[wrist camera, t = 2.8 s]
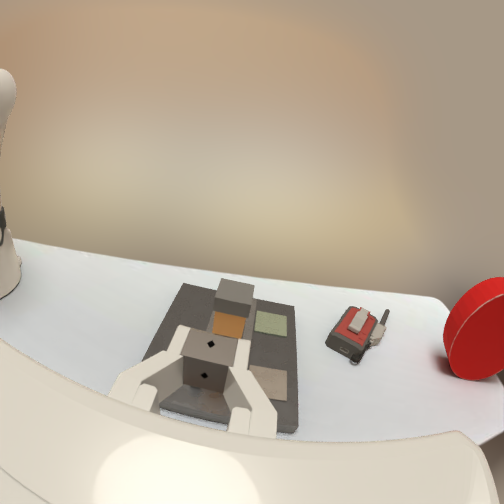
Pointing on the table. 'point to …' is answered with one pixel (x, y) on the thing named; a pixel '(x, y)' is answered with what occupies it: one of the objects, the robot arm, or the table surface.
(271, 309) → the grey metal board
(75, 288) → the table surface
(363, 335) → the walkie-talkie
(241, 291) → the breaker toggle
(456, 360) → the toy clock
